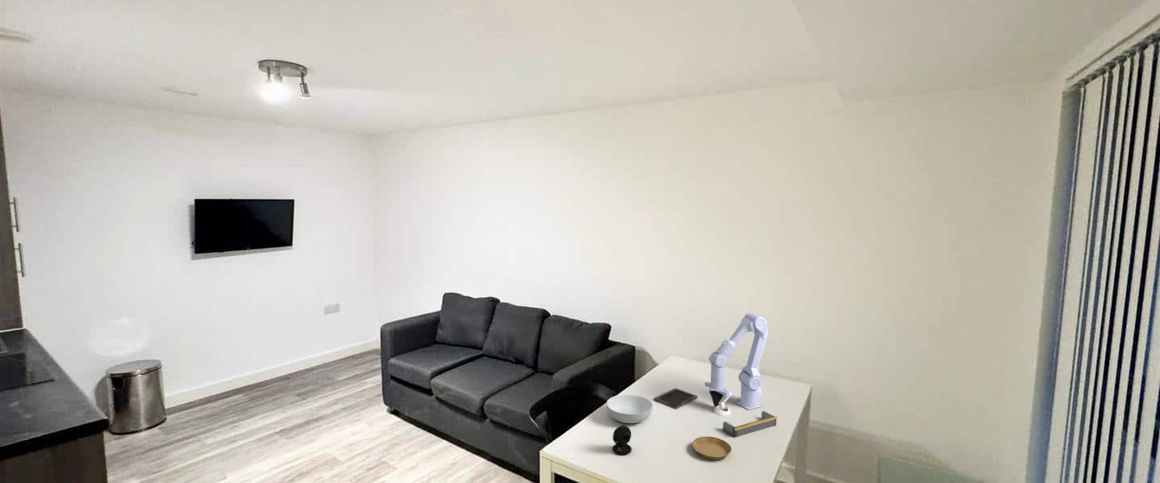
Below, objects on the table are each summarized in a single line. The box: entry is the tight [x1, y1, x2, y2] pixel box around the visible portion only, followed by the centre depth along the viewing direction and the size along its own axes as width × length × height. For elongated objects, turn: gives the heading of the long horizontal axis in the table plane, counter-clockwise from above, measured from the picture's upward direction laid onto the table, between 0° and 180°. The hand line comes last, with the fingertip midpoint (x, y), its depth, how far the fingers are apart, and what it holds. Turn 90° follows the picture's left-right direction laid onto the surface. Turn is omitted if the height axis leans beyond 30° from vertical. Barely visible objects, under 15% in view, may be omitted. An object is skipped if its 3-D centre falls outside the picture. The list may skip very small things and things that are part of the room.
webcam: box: [611, 425, 633, 456], centre depth 181 cm, size 8×8×10 cm
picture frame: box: [653, 387, 699, 410], centre depth 228 cm, size 13×2×18 cm
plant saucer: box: [692, 436, 732, 461], centre depth 180 cm, size 15×15×3 cm
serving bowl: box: [605, 394, 654, 424], centre depth 208 cm, size 21×21×7 cm
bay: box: [722, 410, 778, 438], centre depth 199 cm, size 24×7×4 cm, turn 116°
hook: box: [713, 391, 732, 417], centre depth 213 cm, size 8×12×7 cm
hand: (716, 406), depth 218 cm, fingers closed
